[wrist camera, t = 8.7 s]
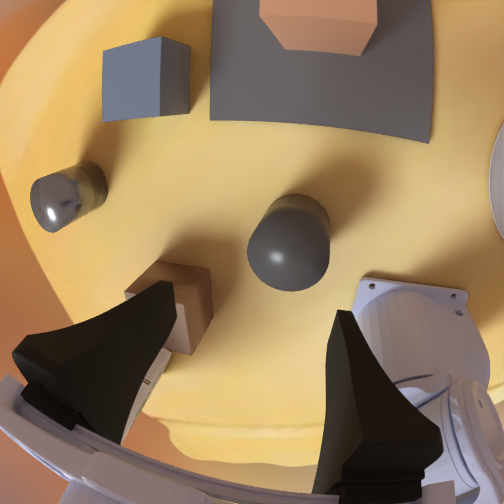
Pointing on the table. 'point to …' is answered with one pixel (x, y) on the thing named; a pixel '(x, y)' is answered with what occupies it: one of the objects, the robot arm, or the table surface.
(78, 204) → the dark steel can
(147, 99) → the slate blue block
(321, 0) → the terracotta block
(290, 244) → the charcoal cylinder
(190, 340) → the walnut block
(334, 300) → the table surface
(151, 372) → the syrup box
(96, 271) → the table surface
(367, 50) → the charcoal mat
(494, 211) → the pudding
